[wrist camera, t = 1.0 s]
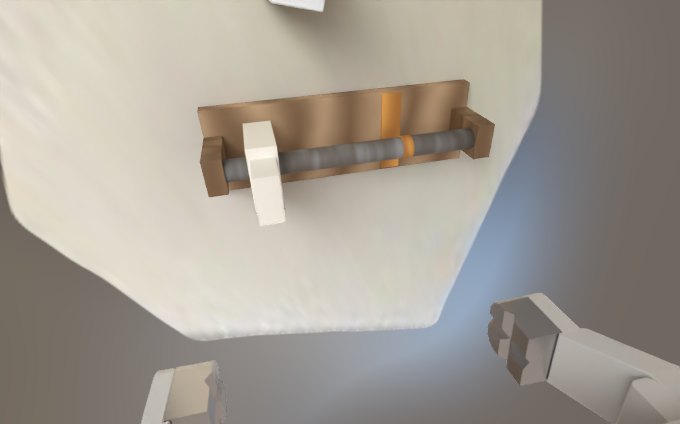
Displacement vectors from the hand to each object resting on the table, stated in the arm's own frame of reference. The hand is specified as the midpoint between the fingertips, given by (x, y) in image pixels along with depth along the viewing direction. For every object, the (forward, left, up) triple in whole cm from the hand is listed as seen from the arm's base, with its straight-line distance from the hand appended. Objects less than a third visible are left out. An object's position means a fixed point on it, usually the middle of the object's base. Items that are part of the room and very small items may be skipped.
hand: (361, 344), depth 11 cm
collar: (+9, -2, -35) cm, 36 cm away
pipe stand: (+9, +8, -38) cm, 40 cm away
